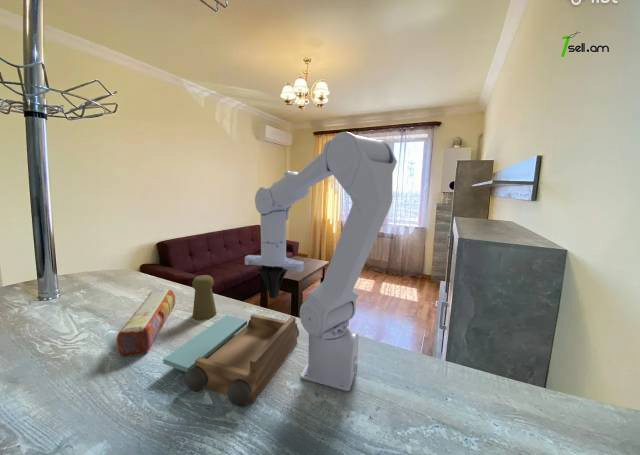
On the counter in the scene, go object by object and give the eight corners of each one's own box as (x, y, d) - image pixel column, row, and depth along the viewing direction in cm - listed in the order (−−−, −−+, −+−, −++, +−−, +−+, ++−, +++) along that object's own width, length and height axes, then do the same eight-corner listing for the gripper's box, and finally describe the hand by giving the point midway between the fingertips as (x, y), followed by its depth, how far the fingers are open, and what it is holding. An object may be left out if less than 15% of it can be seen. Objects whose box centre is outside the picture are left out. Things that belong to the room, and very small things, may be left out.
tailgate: (247, 320, 64) (223, 314, 66) (188, 368, 47) (159, 357, 50) (247, 327, 65) (223, 320, 67) (188, 376, 48) (159, 366, 50)
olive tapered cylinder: (207, 321, 69) (205, 281, 67) (187, 318, 70) (185, 279, 68) (220, 311, 75) (219, 273, 73) (201, 308, 76) (199, 271, 74)
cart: (299, 340, 62) (299, 312, 60) (248, 409, 43) (247, 370, 41) (251, 329, 66) (250, 303, 65) (185, 388, 47) (182, 352, 46)
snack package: (151, 355, 56) (148, 325, 54) (114, 360, 54) (111, 329, 53) (176, 309, 76) (175, 286, 75) (150, 311, 74) (148, 288, 73)
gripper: (309, 240, 62) (308, 294, 64) (255, 235, 67) (256, 286, 69) (297, 246, 56) (296, 307, 58) (238, 240, 60) (240, 296, 63)
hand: (273, 296), depth 63 cm, fingers closed
